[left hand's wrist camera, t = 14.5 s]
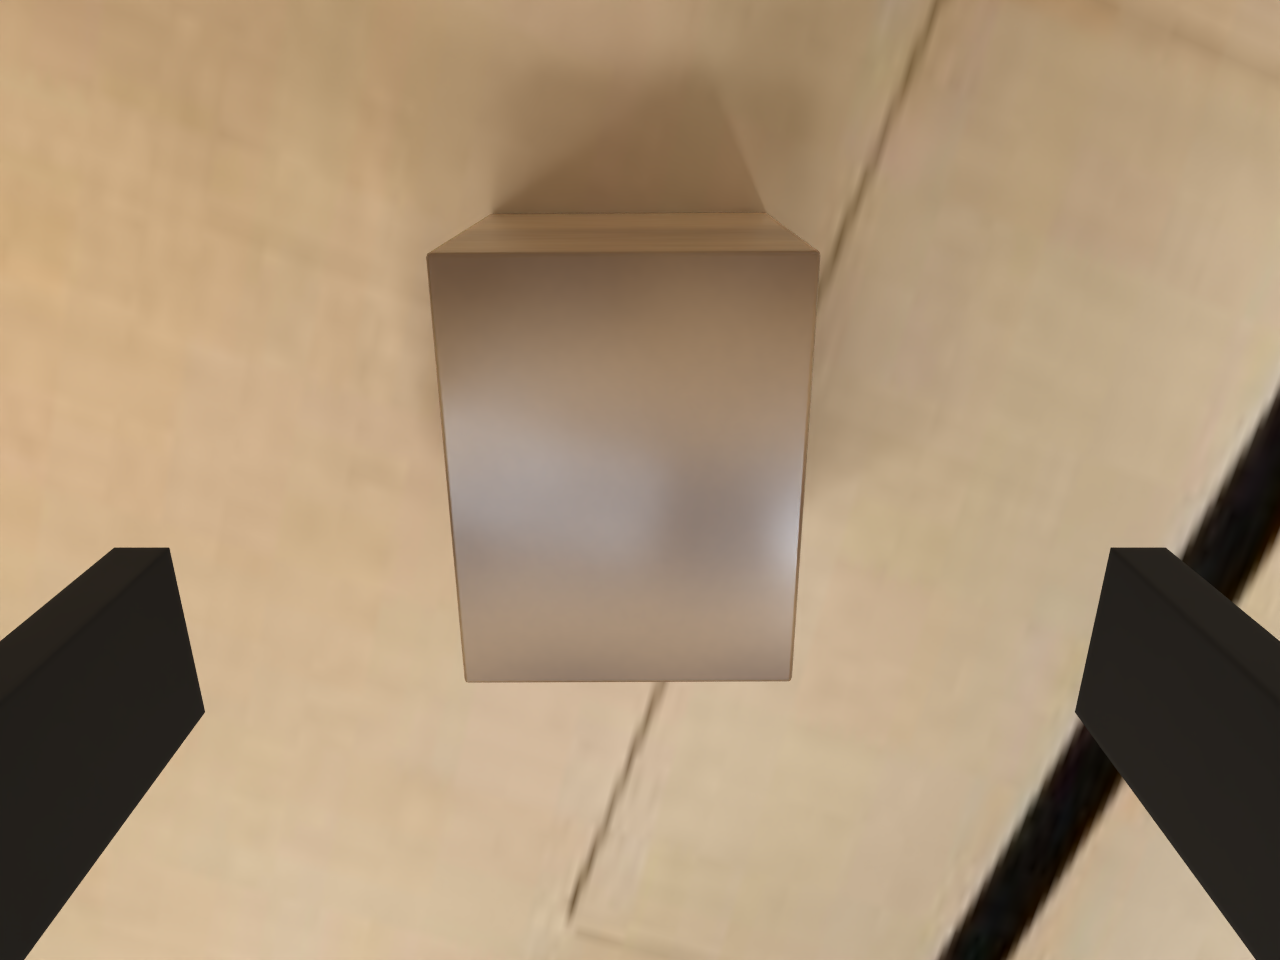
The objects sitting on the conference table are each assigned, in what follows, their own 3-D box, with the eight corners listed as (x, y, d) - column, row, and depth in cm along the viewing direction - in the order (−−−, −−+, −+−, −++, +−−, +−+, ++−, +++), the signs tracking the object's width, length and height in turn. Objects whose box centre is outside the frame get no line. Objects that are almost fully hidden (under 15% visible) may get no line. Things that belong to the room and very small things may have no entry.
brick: (489, 213, 23) (424, 253, 16) (767, 212, 23) (821, 250, 16) (509, 537, 26) (464, 684, 20) (752, 536, 26) (792, 682, 20)
